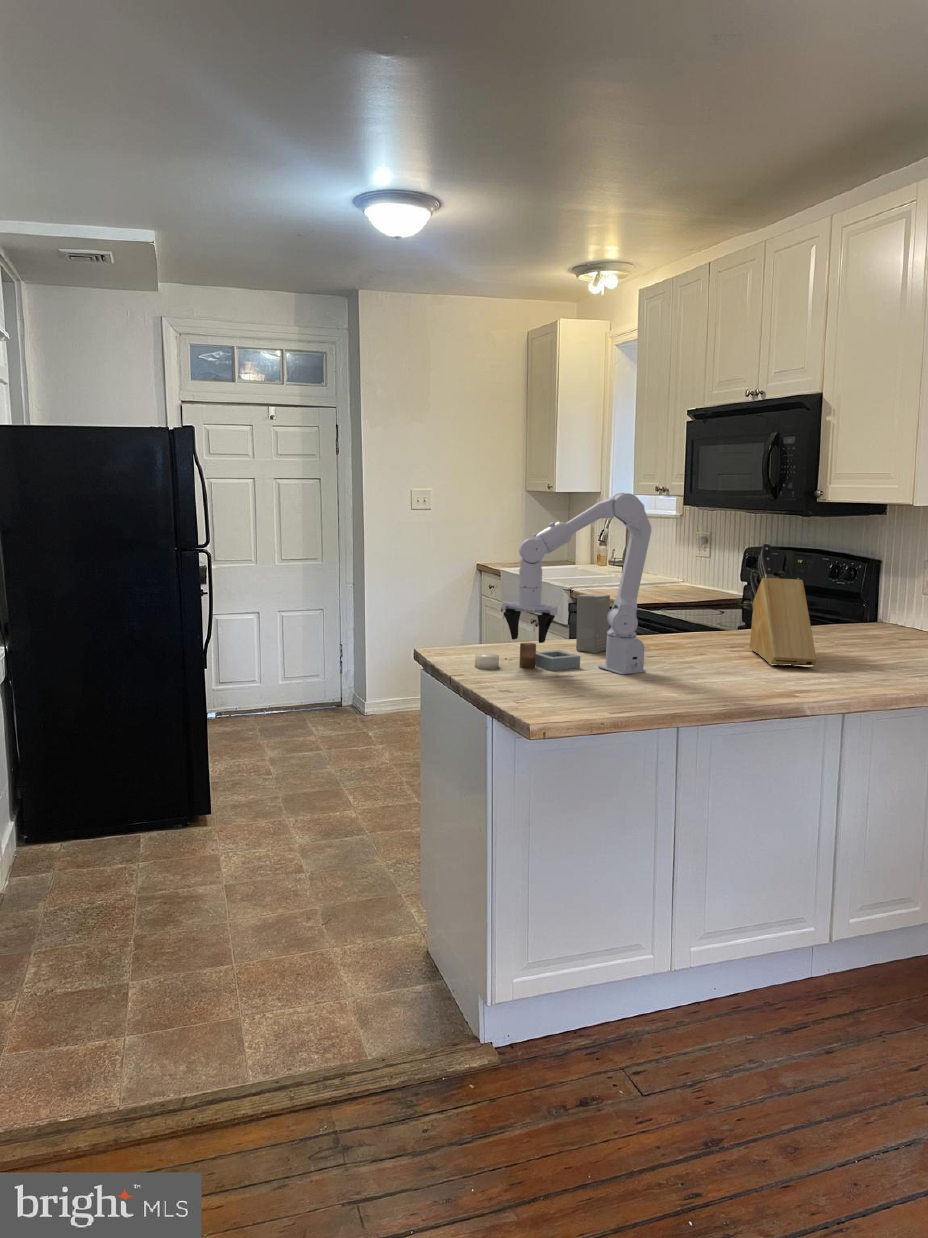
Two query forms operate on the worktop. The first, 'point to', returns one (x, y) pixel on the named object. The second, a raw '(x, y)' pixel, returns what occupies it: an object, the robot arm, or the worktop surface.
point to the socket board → (557, 660)
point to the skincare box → (592, 622)
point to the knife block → (780, 614)
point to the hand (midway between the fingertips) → (528, 640)
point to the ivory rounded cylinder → (486, 660)
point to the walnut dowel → (527, 655)
